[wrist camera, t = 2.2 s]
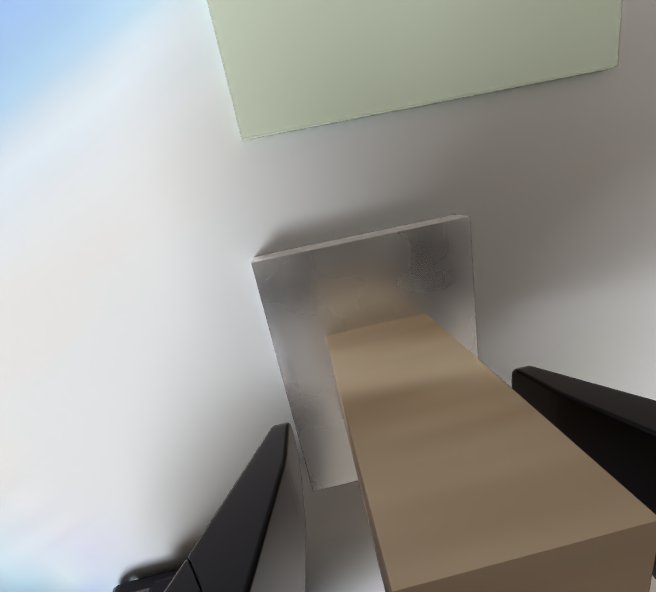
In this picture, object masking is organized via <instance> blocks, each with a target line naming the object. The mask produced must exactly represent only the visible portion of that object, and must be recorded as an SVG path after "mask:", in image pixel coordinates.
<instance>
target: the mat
mask: <svg viewBox="0 0 656 592" xmlns="http://www.w3.org/2000/svg"><path fill="white" fill-rule="evenodd" d="M207 3H208V7H209V11H210V15H211V19H212V23H213V26H214V30H215V34H216V38H217V42H218V46H219V50H220V54H221V58H222V62H223V66H224V70H225V74H226V78H227V82H228V86H229V90H230V94H231V98H232V102H233V106H234V110H235V114H236V118H237V122H238V126H239V130H240V134H241V138H242V140H248V139H253V138H258V137H264V136H269V135H274V134H279V133H284V132H289V131H294V130H299V129H305V128H310V127H315V126H320V125H325V124H330V123H335V122H340V121H345V120H351V119H356V118H361V117H366V116H371V115H376V114H381V113H386V112H392V111H397V110H402V109H407V108H412V107H417V106H422V105H427V104H433V103H438V102H443V101H448V100H453V99H458V98H463V97H468V96H473V95H479V94H484V93H489V92H494V91H499V90H504V89H509V88H514V87H520V86H525V85H530V84H535V83H540V82H545V81H550V80H555V79H561V78H566V77H571V76H576V75H581V74H586V73H591V72H596V71H601V70H607V69H609V68H612V67H615V66H617V64H618V50H619V36H620V22H621V8H622V0H207Z"/></svg>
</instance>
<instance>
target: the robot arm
mask: <svg viewBox="0 0 656 592" xmlns="http://www.w3.org/2000/svg"><path fill="white" fill-rule="evenodd" d="M512 389H513V390H514V391H515V392H517V393H518V394H519V395H520V396H521V397H522V398H523V399H524V400H526V401H527V402H528V403H529V404H530V405H531V406H532V407H534V408H535V409H536V410H537V411H538V412H539V413H540V414H542V415H543V416H544V417H545V418H546V419H547V420H548V421H550V422H551V423H552V424H553V425H554V426H555V427H556V428H558V429H559V430H560V431H561V432H562V433H563V434H564V435H565V436H567V437H568V438H569V439H570V440H571V441H572V442H573V443H575V444H576V445H577V446H578V447H579V448H580V449H581V450H583V451H584V452H585V453H586V454H587V455H588V456H589V457H591V458H592V459H593V460H594V461H595V462H596V463H597V464H599V465H600V466H601V467H602V468H603V469H604V470H605V471H606V472H608V473H609V474H610V475H611V476H612V477H613V478H614V479H616V480H617V481H618V482H619V483H620V484H621V485H622V486H624V487H625V488H626V489H627V490H628V491H629V492H630V493H632V494H633V495H634V496H635V497H636V498H637V499H638V500H640V501H641V502H642V503H643V504H644V505H645V506H646V507H647V508H649V509H650V510H651V511H652V512H653V513H654V514H655V515H656V401H655V400H651V399H648V398H644V397H641V396H637V395H633V394H630V393H626V392H623V391H619V390H615V389H612V388H608V387H605V386H601V385H597V384H594V383H590V382H587V381H583V380H579V379H576V378H572V377H569V376H565V375H561V374H558V373H554V372H551V371H547V370H543V369H540V368H536V367H533V366H526V367H521V368H517V369H515V370H513V372H512ZM188 559H189V560H185V561H184V563H183V564H182V566H181V567H180V569H178V570H174V571H170V572H166V573H162V574H158V575H154V576H150V577H146V578H142V579H138V580H134V581H131V582H127V583H123V584H120V585H118V586H116V587H115V588H114V590H113V592H305V570H306V523H305V510H304V500H303V491H302V481H301V471H300V462H299V454H298V449H297V446H296V442H295V438H294V435H293V431H292V428H291V425H290V424H289V423H284V424H280V425H275V426H273V427H272V428H271V430H270V431H269V433H268V434H267V436H266V437H265V439H264V440H263V442H262V444H261V445H260V447H259V448H258V450H257V451H256V453H255V454H254V456H253V457H252V459H251V460H250V462H249V463H248V465H247V466H246V468H245V470H244V471H243V473H242V474H241V476H240V477H239V479H238V480H237V482H236V483H235V485H234V486H233V488H232V489H231V491H230V493H229V494H228V496H227V497H226V499H225V500H224V502H223V503H222V505H221V506H220V508H219V509H218V511H217V512H216V514H215V515H214V517H213V519H212V520H211V522H210V523H209V525H208V526H207V528H206V529H205V531H204V532H203V534H202V535H201V537H200V538H199V540H198V541H197V543H196V545H195V546H194V548H193V549H192V551H191V552H190V554H189V555H188ZM652 575H653V576H654V578H655V579H656V554H655V560H654V566H653V572H652Z"/></svg>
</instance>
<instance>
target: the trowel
mask: <svg viewBox="0 0 656 592" xmlns="http://www.w3.org/2000/svg"><path fill="white" fill-rule="evenodd" d="M251 264H252V267H253V271H254V275H255V278H256V282H257V286H258V289H259V293H260V297H261V300H262V304H263V308H264V312H265V315H266V319H267V323H268V326H269V330H270V334H271V337H272V341H273V345H274V348H275V352H276V356H277V360H278V363H279V367H280V371H281V374H282V378H283V382H284V385H285V389H286V393H287V396H288V400H289V404H290V407H291V411H292V415H293V419H294V422H295V426H296V430H297V433H298V437H299V441H300V444H301V448H302V452H303V455H304V459H305V463H306V466H307V470H308V474H309V478H310V481H311V485H312V489H313V492H314V491H318V490H322V489H326V488H330V487H334V486H338V485H342V484H346V483H350V482H354V481H359V485H360V489H361V494H362V498H363V502H364V506H365V510H366V514H367V518H368V522H369V526H370V531H371V535H372V539H373V543H374V547H375V551H376V555H377V559H378V563H379V567H380V572H381V576H382V580H383V584H384V588H385V592H649V590H650V584H651V578H652V572H653V566H654V560H655V554H656V515H655V514H654V513H653V512H652V511H651V510H650V509H649V508H647V507H646V506H645V505H644V504H643V503H642V502H641V501H640V500H638V499H637V498H636V497H635V496H634V495H633V494H632V493H630V492H629V491H628V490H627V489H626V488H625V487H624V486H622V485H621V484H620V483H619V482H618V481H617V480H616V479H614V478H613V477H612V476H611V475H610V474H609V473H608V472H606V471H605V470H604V469H603V468H602V467H601V466H600V465H599V464H597V463H596V462H595V461H594V460H593V459H592V458H591V457H589V456H588V455H587V454H586V453H585V452H584V451H583V450H581V449H580V448H579V447H578V446H577V445H576V444H575V443H573V442H572V441H571V440H570V439H569V438H568V437H567V436H565V435H564V434H563V433H562V432H561V431H560V430H559V429H558V428H556V427H555V426H554V425H553V424H552V423H551V422H550V421H548V420H547V419H546V418H545V417H544V416H543V415H542V414H540V413H539V412H538V411H537V410H536V409H535V408H534V407H532V406H531V405H530V404H529V403H528V402H527V401H526V400H524V399H523V398H522V397H521V396H520V395H519V394H518V393H517V392H515V391H514V390H513V389H512V388H511V387H510V386H509V385H507V384H506V383H505V382H504V381H503V380H502V379H501V378H499V377H498V376H497V375H496V374H495V373H494V372H493V371H491V370H490V369H489V368H488V367H487V366H486V365H485V364H483V363H482V362H481V361H480V360H479V359H478V349H477V332H476V314H475V296H474V279H473V261H472V244H471V226H470V216H464V215H456V214H454V215H450V216H445V217H440V218H436V219H431V220H426V221H421V222H417V223H412V224H407V225H402V226H398V227H393V228H388V229H384V230H379V231H374V232H369V233H365V234H360V235H355V236H350V237H346V238H341V239H336V240H331V241H327V242H322V243H317V244H313V245H308V246H303V247H298V248H294V249H289V250H284V251H279V252H275V253H270V254H265V255H261V256H256V257H254V259H253V261H252V262H251Z"/></svg>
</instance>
